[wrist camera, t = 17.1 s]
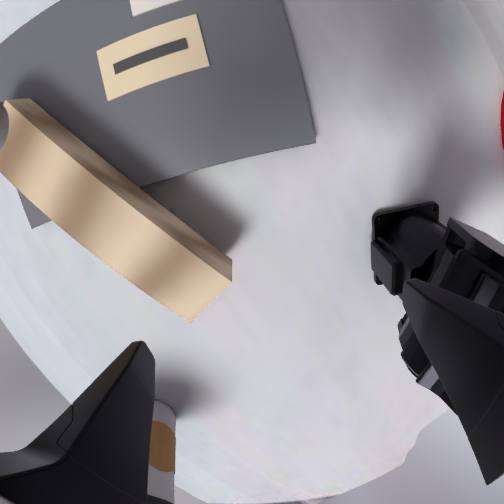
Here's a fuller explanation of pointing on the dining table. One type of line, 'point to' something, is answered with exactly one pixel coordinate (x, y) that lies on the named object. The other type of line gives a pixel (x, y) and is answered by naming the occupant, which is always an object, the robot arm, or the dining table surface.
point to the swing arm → (109, 212)
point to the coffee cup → (162, 456)
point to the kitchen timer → (502, 120)
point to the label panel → (162, 82)
